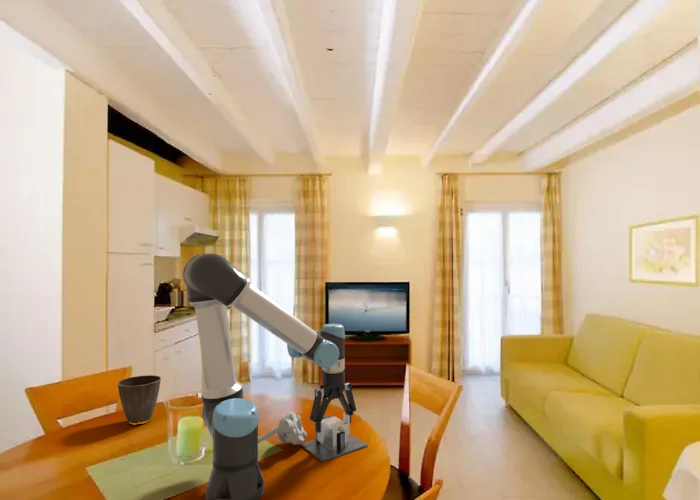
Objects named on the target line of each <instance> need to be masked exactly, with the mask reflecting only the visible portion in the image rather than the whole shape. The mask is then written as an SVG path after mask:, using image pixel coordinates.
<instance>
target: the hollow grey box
mask: <svg viewBox="0 0 700 500" xmlns="http://www.w3.org/2000/svg"><path fill="white" fill-rule="evenodd" d="M322 422H324V443H321V442H320V443H321V444H323V445H324V446H326V447H327V448H329V449H330V450H332V451H335V450H337V433H340V432H342V433H343V434H344V447H347V446H348V423H346V422H344V421H343V419H341V418H338V417H337V416H335V415H334V416H331V417H330V418H326V419H322Z"/></svg>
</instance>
